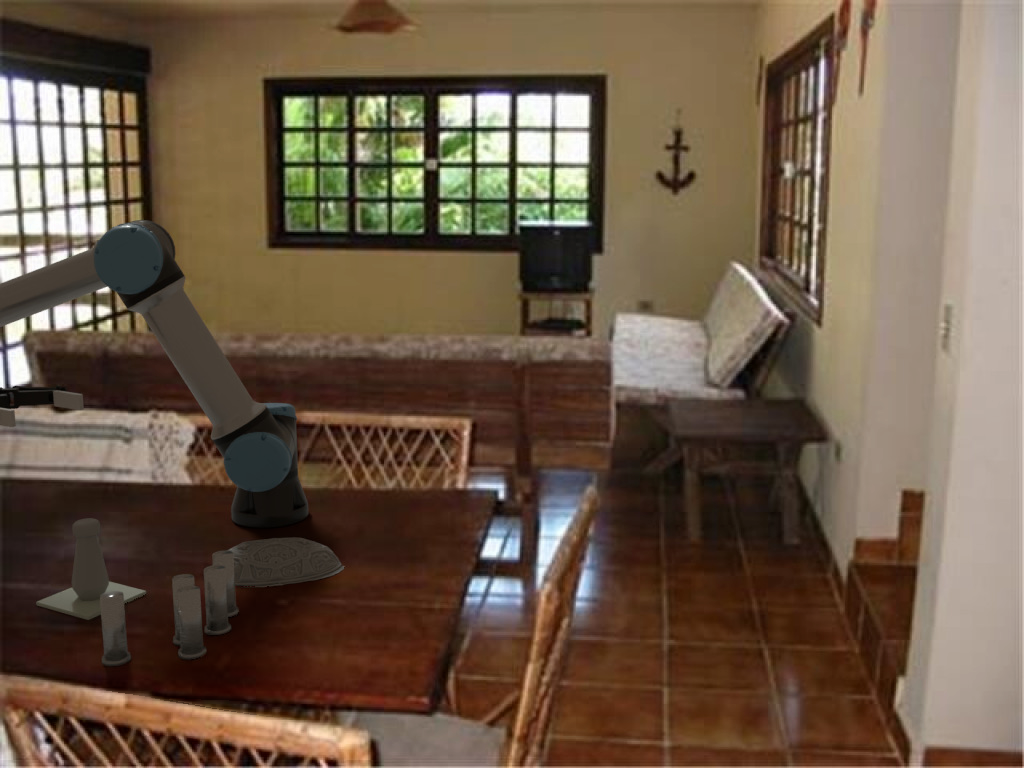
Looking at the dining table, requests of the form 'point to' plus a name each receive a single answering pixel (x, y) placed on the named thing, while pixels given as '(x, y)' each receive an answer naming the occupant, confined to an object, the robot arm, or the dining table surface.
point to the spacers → (178, 612)
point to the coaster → (85, 609)
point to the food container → (282, 562)
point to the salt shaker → (88, 561)
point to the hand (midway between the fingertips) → (48, 410)
